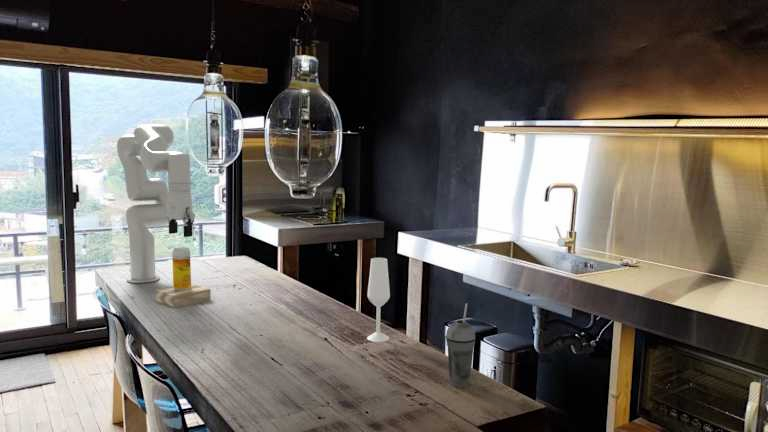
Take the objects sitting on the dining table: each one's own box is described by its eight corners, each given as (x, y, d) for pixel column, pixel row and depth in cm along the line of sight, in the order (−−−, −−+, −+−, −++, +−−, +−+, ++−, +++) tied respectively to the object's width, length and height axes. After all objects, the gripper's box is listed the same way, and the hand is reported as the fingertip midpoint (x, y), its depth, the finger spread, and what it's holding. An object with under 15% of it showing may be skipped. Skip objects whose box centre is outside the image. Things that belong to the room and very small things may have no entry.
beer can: (185, 291, 206) (184, 250, 204) (170, 290, 207) (168, 249, 205) (194, 287, 212) (193, 247, 210) (179, 286, 213) (177, 247, 211)
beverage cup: (441, 377, 143) (443, 299, 140) (470, 377, 143) (473, 299, 141) (447, 390, 136) (449, 307, 133) (477, 389, 136) (480, 307, 134)
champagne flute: (368, 342, 168) (369, 261, 165) (365, 335, 174) (366, 257, 171) (391, 341, 169) (392, 261, 166) (386, 333, 175) (388, 256, 172)
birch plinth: (155, 300, 209) (154, 289, 208) (189, 293, 220) (189, 283, 219) (175, 307, 200) (175, 296, 200) (210, 299, 211) (210, 289, 210)
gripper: (157, 186, 207) (158, 233, 210) (183, 190, 196) (184, 239, 199) (176, 185, 213) (177, 230, 215) (202, 188, 202) (203, 236, 205)
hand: (180, 234), depth 207 cm, fingers open, 9 cm apart
